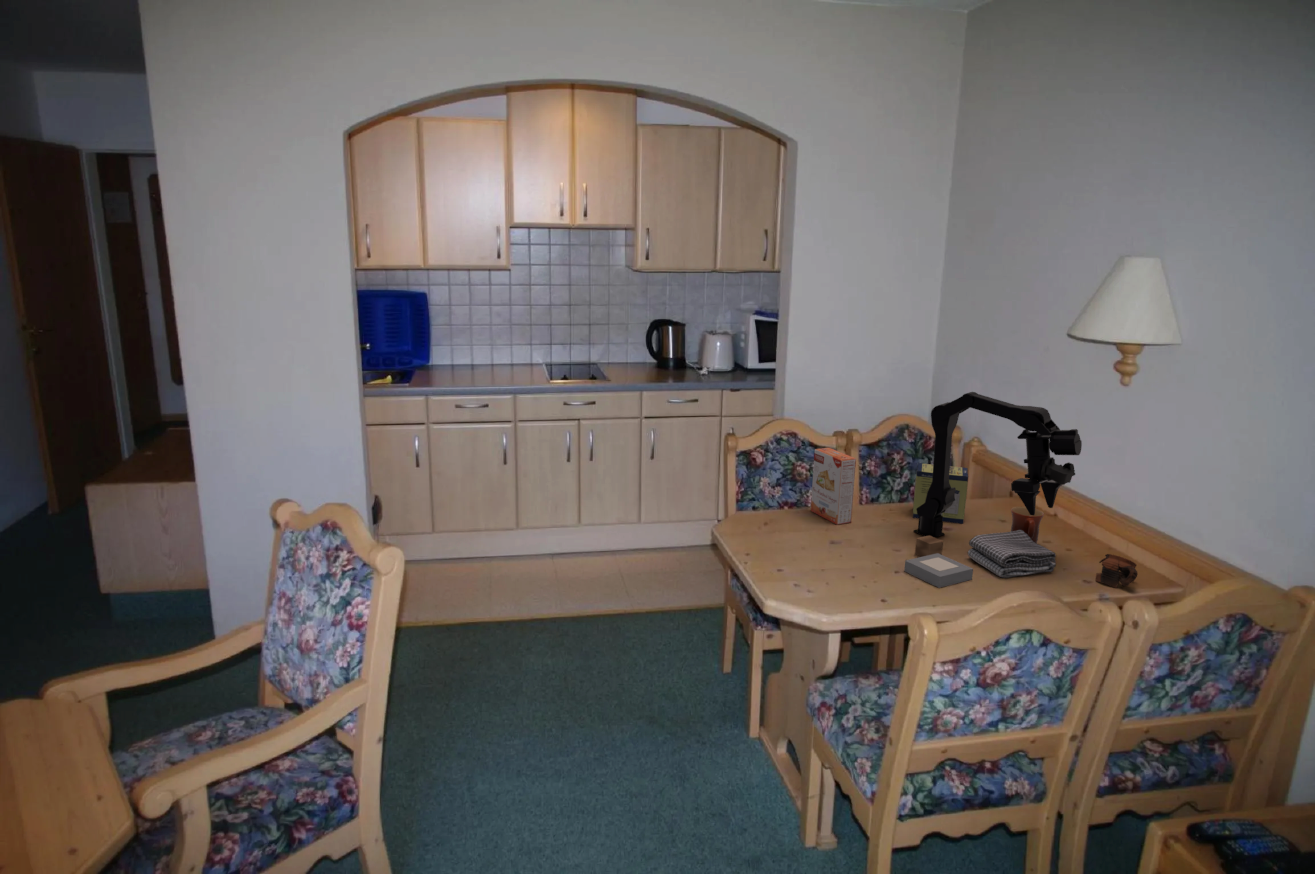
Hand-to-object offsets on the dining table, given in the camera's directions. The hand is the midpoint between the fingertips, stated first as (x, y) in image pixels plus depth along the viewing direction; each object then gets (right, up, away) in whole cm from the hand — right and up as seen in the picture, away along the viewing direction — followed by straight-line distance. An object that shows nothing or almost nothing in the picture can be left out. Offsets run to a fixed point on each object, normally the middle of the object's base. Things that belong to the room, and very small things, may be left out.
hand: (1041, 511), depth 230 cm
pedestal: (-31, -16, -8) cm, 36 cm away
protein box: (-15, -5, +40) cm, 43 cm away
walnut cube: (-29, -13, +6) cm, 32 cm away
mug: (+1, -12, +14) cm, 19 cm away
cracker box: (-50, -5, +36) cm, 62 cm away
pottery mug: (+15, -18, -10) cm, 25 cm away
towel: (-8, -15, 0) cm, 17 cm away
